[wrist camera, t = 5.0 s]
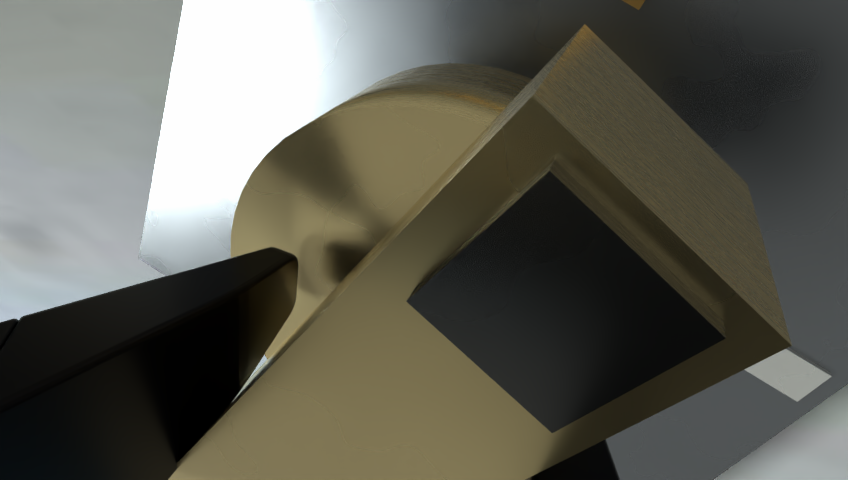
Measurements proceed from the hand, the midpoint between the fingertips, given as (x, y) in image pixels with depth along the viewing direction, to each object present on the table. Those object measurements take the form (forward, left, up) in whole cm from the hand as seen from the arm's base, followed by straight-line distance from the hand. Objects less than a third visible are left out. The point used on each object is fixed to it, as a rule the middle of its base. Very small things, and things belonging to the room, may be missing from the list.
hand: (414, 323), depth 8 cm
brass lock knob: (0, 0, -3) cm, 3 cm away
